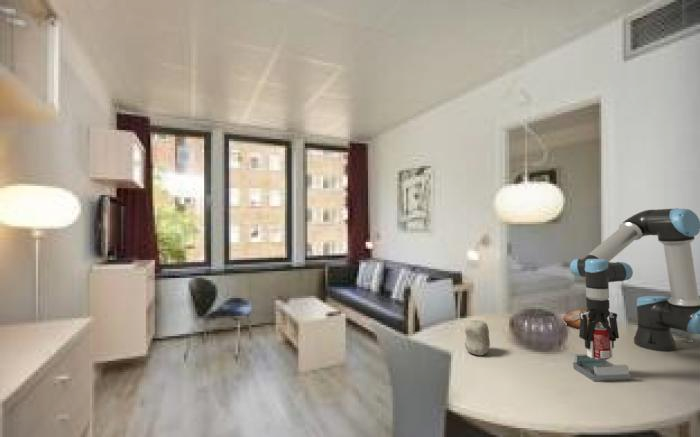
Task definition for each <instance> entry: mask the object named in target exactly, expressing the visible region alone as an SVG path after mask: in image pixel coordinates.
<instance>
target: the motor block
mask: <svg viewBox="0 0 700 437" xmlns="http://www.w3.org/2000/svg"><path fill="white" fill-rule="evenodd" d="M572 364H573V369H574V370H575V371H577V372H579V373H580V374H581V375H583V376H584V377H586V378H587V379H589V380H591V381H592V382H613V381H614V382H615V381H616V382H617V381H619V380H620V381H631V372H629V365H627V364H613V363H612V362H610V361H608V360H598V359H595V358H590V357H589V356H587V353H580V354H579V353H578V354H576V353H575V354H574V362H573V363H572Z"/></svg>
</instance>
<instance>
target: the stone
mask: <svg viewBox="0 0 700 437" xmlns="http://www.w3.org/2000/svg"><path fill="white" fill-rule="evenodd" d="M464 326H465V327H464V333H465V337H466V338H465V341H464V346H465V350H466V351H467V352H469V353H470V354H472V355H477V356H484V355H486V354H487V353H488V351H489V349H490V347H491V343H490V342H491V341H490V329H489V326H488V324H487V322H485V321H483V320H477V319H475V320H474V319H472V320H469V321H466V322H465V325H464Z"/></svg>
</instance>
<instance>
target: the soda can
mask: <svg viewBox="0 0 700 437" xmlns="http://www.w3.org/2000/svg"><path fill="white" fill-rule="evenodd" d="M591 341H593V353H594V358H595V359H598V360H606V361H608V360H610V359H611V357H610V337H609V332H608V331H607V328H604V327H603V326H602V325H600V326H598V325H596V326H595V329H594V332H593V335H592V338H591Z"/></svg>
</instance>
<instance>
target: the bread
mask: <svg viewBox="0 0 700 437" xmlns="http://www.w3.org/2000/svg"><path fill="white" fill-rule="evenodd" d="M586 312H587V310H583V309H581V308H579V309H573V310H569V311H568V312H567V313H565V315H563V317H562V319H563V320H564V321H565V322H566V323H567V325H568V326H567V325H566V326H567V327H570V328H572V329H577V330H580V316H579V314H580V313H582V314H583V313H586ZM588 320H589V317H588V319H587V326H588ZM592 322H594V321H592ZM597 325H598V326H601V322H598V323H597Z"/></svg>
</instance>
